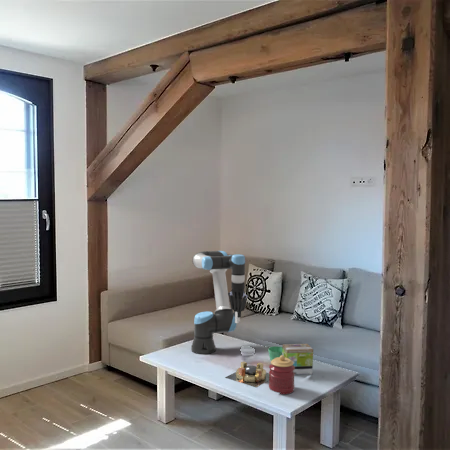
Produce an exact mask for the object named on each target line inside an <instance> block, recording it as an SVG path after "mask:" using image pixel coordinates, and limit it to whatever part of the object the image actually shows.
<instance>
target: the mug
mask: <svg viewBox="0 0 450 450" xmlns="http://www.w3.org/2000/svg"><path fill="white" fill-rule="evenodd" d="M268 355H269V361H270V362H271V361H272V360H273V359H275V358H277V357H280V356H281V355H282V346H276V345H275V346H270V347H268Z"/></svg>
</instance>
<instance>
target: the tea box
mask: <svg viewBox="0 0 450 450" xmlns="http://www.w3.org/2000/svg"><path fill="white" fill-rule="evenodd" d="M281 347H282V355H283V356H284V357H285V358H288V359H290V360H291V361H293V365H294V366H295V369H294V373H295V375H304V374H306V375H307V374H308V376H312V375H313V366H314V363H313V362H314V349H313V347H311V345H309V343H289V344H288V343H285V344H284V343H283V344H282V346H281Z"/></svg>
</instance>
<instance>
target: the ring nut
mask: <svg viewBox="0 0 450 450" xmlns="http://www.w3.org/2000/svg"><path fill="white" fill-rule="evenodd" d="M246 366H248V362H246V361H241V362H240V367H238V368H237V369H236V371H235V372H236V378H238V379H240V380H242V381H246V382H255V381H256V382H258V381H261V380H264V379H265V378H266V372H267V370H266V369H264V363H262V362H258V363H257V364H256V365H255V366H256V367H257V369H256V375H246V374H245V371H246Z"/></svg>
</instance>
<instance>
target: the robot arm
mask: <svg viewBox="0 0 450 450" xmlns="http://www.w3.org/2000/svg"><path fill="white" fill-rule="evenodd" d="M191 262H192V264H193V265H192V266H194V267H195V268H197V269H202V270H206V271H207V270H208V271H209V273H211V274H212V280H213V281H212V283H213V289H214V291H213V292H214V299H215V307H216V309H215V310H214V312H212V311H206V310H205V311H201V312H198V313H196V314H195V316H194V320H193V321H194V322H193V324H194V326H193V328H194V331H193V332H194V333H193V336H194V337H193V340H192V344H191V348H190V351H191V352H192V353H195V354H199V355H207V354H208V355H209V354H212V353H214V352H216V350H217V349H216V344H215V340H214V334H221V333H222V334H223V333H232V332H234V331H236V330H237V329H236V328H237V324H238V323H241V317H242V312H244V311H245V308H246V304H247V299H248V298H249V295H248V294H246V292H245V287H246V285H245V284H246V283H245V280H246V279H245V278H246V277H245V276H246V273H245V272H246V256H245V255H244V254H236V253H235V254H229V255H228V253H227V252H226V251H225V250H209V251H207V250H204V251H199V252H196V253H195V254H194V255H193V257H192V261H191ZM228 270H231V278H230V279H231V291H230V292H229V291H228V289H229V288H228V283H227V275H226V272H227V271H228Z"/></svg>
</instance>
